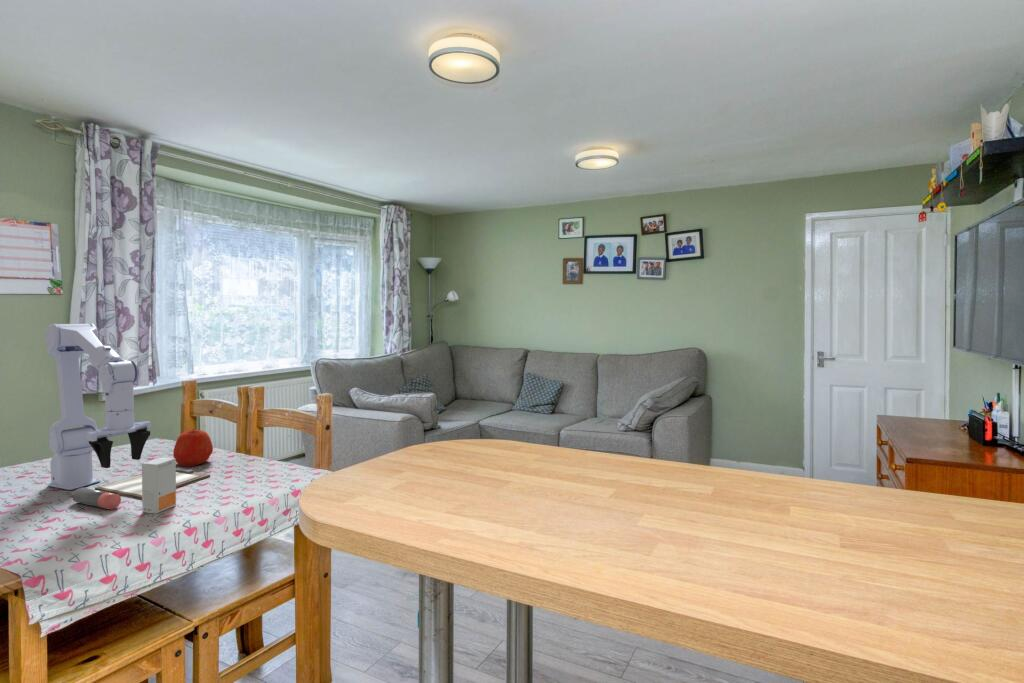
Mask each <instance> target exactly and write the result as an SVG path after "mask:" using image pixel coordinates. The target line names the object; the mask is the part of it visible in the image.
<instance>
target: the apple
mask: <svg viewBox="0 0 1024 683" xmlns="http://www.w3.org/2000/svg"><path fill="white" fill-rule="evenodd" d="M213 452H214V446H213V443H212V439H211V437H210V435H209V434H208V433H207V431H204V430H199V429H191V430H186V431H183V432H182V433H180V434H179V436H178V437H177V440H176V442H175V444H174V447H173V452H172V453H173V458H175V459H176V465H179V466H181V467H182V466H183V467H194V466H198V465H200V464H203V463H206V462H207V461H208V460H209V458H210V456H211V455H212V454H213Z"/></svg>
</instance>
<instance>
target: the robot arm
mask: <svg viewBox="0 0 1024 683" xmlns="http://www.w3.org/2000/svg"><path fill="white" fill-rule="evenodd" d="M45 343H46V350H47V355H49V356H51V357H54V360H55V367H56V369H55V370H56V377H57V386H58V395H59V404H60V414H61V415H60V416H61V417H60V418H59V419H58V420H57V421H55V422H54V423H53V424H51V425H50V427H49V435H48V446H49V450H50V451H51V452H52V453H53V454H54V455H53V456H52V458H51V460H50V463H49V464H50V483H47V486H48V487H52V488H58V489H63V490H67V491H70V490H71V491H72V490H77V489H79V488H84V487H86V486H90V485H93V484H96V483H99V482H102V481H101V479H99V478H95V477H93V476H94V473H93V451H94V452H95V454H96V457H97V459H98V461H99V464H100V466H101V468H103V469H110V468H111V462H112V460H111V455H112V454H111V453H112V448H113V444H114V441H113V440H109V438H111V437H116V436H122V435H126V434H127V435H128V439H129V442H130V453H131V454H130V456H131V459H132V460H135V461H140V460H141V458H142V454H143V450H144V447H145V445H146V442H147V440H148V439H149V437H150V435H151V431H150V430H151V429H152V422H151V421H147V420H145V421H138V422H135V408H134V406H135V405H134V402H135V400H134V397H135V396H134V384H135V383H136V382H137V381H138V377H139V369H138V365H137V364H136V362H135V361H134V360H132V359H123V358H122V357H121V355H120V354H118V352H116V350H115V349H113V348H112V347H111V346H110V345H104V344H103V343H102V342H101V340H100V339H99V331H98V327H97V326H96V325H95V324H94V323H92V322H88V323H51V324H49V326H47V327H46V331H45ZM86 354H88V361H89V363H90V364H91V365H92V366H93V367H94V368H95V369H96V370H97V371H98V372H99V374H98V376H99V380H100V382H101V386H102V387H101V389H102V392H104V394H105V395H104V397H105V398H104V402H105V404H104V405H105V427H103V428H100V429H98V426H97V422H96V420H94V418H91V417H88V416H86V414H85V407H84V398H83V397H84V396H83V387H82V380H81V379H82V377H81V369H80V360H79V359H80V358H81V356H82V355H86Z"/></svg>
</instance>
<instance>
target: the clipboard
mask: <svg viewBox="0 0 1024 683" xmlns="http://www.w3.org/2000/svg"><path fill="white" fill-rule="evenodd" d="M210 477H211V474H207V473H202V472H196V471H194V469H188V468H183V467H176V489H177V488H181V487H183V486H186V485H190V484H192V482H193V483H195V481H196V482H199V481H201V479H202V480H205V479H208V478H210ZM204 478H205V479H204ZM198 480H199V481H198ZM189 483H190V484H189ZM94 490H97V491H98V490H99V491H104V492H110V493H114V494H119V496H124V497H129V498H134V499H141V500H142V473H141V474H138V475H137V474H136V475H133V476H130V477H127V478H123V479H120V480H117V481H114V482H110V483H109V482H108V483H106V484H103V485H99V486H97V487H94Z"/></svg>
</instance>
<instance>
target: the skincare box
mask: <svg viewBox="0 0 1024 683" xmlns="http://www.w3.org/2000/svg"><path fill="white" fill-rule="evenodd" d="M176 465H177V462H176V459H175V458H174V457H159V458H156V459H152V460H149V461H146V462H144V463H143V462H142V463H141V474H142V499H141V501H142V502H141V504H142V506H141V508H142V510H141V511H142V513H146V514H154V515H155V514H159V513H161V512H164V511H166V510H168V509H170V508H173V507H176V505H177V488H176V468H177V467H176Z"/></svg>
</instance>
